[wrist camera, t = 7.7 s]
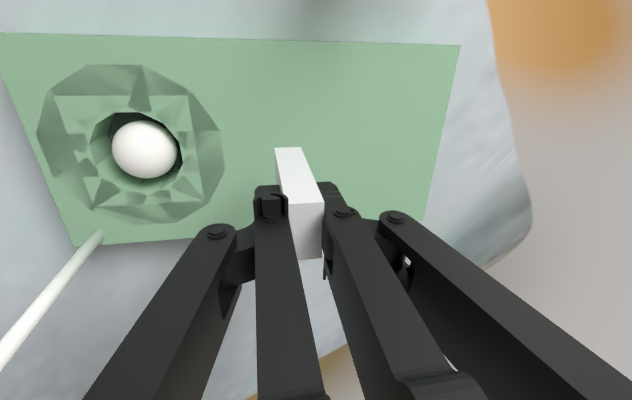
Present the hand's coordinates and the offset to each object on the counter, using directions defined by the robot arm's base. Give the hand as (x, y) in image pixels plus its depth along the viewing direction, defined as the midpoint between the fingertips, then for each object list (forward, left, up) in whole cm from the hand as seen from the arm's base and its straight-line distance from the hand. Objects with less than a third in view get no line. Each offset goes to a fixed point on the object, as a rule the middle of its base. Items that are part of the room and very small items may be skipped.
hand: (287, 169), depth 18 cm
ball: (0, -9, -6) cm, 11 cm away
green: (0, -2, -8) cm, 8 cm away
